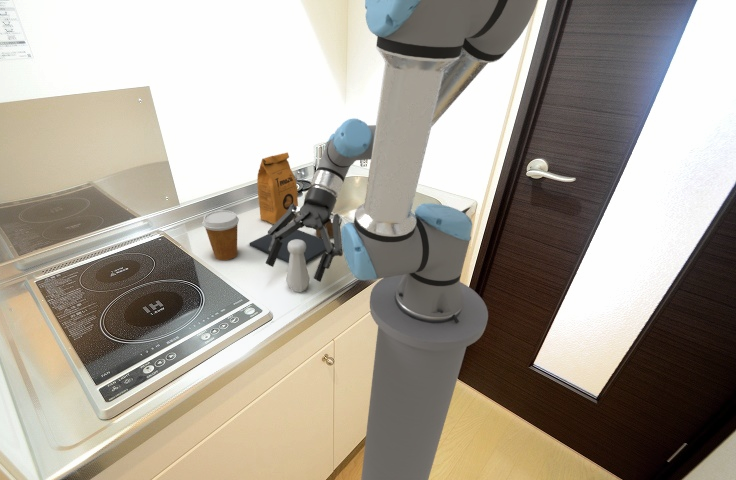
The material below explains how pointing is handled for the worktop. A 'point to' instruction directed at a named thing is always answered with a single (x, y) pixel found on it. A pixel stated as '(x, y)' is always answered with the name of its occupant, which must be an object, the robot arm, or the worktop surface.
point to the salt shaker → (297, 266)
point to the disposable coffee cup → (222, 233)
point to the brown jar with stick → (329, 229)
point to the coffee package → (276, 187)
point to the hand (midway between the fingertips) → (292, 272)
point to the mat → (312, 242)
